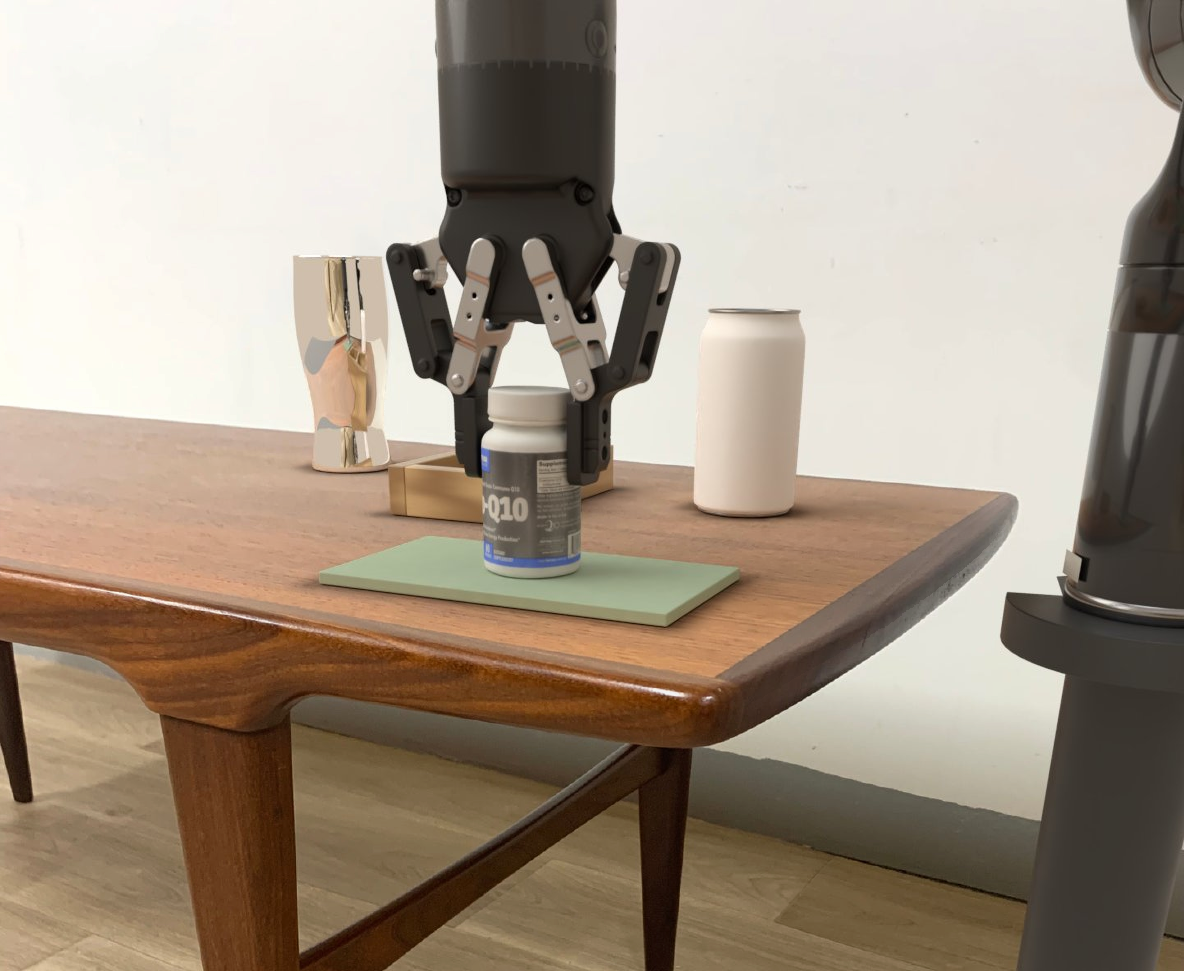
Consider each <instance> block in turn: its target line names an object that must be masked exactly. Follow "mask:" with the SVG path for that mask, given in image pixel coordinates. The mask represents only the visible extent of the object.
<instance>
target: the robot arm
mask: <svg viewBox="0 0 1184 971" xmlns="http://www.w3.org/2000/svg"><path fill="white" fill-rule="evenodd" d="M1125 5H1126V12H1127V20H1128V26H1129V33H1130V39H1131V43H1132V48H1133V53H1134V57H1135V60H1136V63H1137V65H1138V67H1139V69H1140V72H1141V75H1142V76H1143V79H1144V81H1145V83H1146V84H1147V85H1148V87H1149V88H1150V89H1151V91H1152V92H1153V94H1154V95H1155V97H1156V98H1157V99H1158V100H1159V101H1160V102H1161V103H1163V104H1164V105H1165V106H1166V107H1167V108H1169V109H1170V110H1172V111H1174V112H1176V113H1177V114H1179V115H1178V119H1177V124H1176V129H1175V132H1174V137H1173V140H1172V144H1171V147H1170V151H1169V153H1168V155H1167V157H1166V159H1165V162H1164V164H1163V166H1162V168H1161V169H1160V172H1159V173H1158V175H1157V177H1156V179H1155V180H1154V182H1153V183H1152V184H1151V186H1150V187H1149V188H1148V190H1147V191H1146V192H1145V193H1144V194H1143V195H1142V197H1141V198H1139V200H1138V201H1137V202H1136V203H1135V204H1134V205H1133V207H1132V208H1131V210H1130V211H1129V213H1128V215H1127V218H1126V221H1125V225H1124V230H1123V235H1122V239H1121V248H1120V253H1119V254H1120V255H1119V259H1118V266H1119V267H1117V271H1116V278H1115V284H1114V290H1113V291H1114V292H1113V295H1112V301H1111V302H1112V303H1111V308H1110V315H1109V322H1108V328H1107V329H1108V330H1107V334H1106V340H1105V344H1104V353H1103V358H1102V364H1101V371H1100V375H1099V376H1100V377H1099V383H1098V388H1097V389H1098V390H1097V396H1096V402H1095V408H1094V414H1093V421H1092V426H1091V432H1090V439H1089V445H1088V451H1087V458H1086V464H1085V470H1084V477H1083V482H1082V487H1081V488H1082V489H1081V493H1080V494H1081V496H1080V501H1079V508H1078V513H1077V518H1076V525H1075V532H1074V539H1073V544H1072V551H1070V550H1069V549H1068V548H1066V550H1065V555H1064V560H1063V561H1064V562H1063V567H1062V574H1064V576H1068V578H1067V579H1066V582H1065V588H1064V594H1063V595H1062V596H1063V600H1064V601H1065V603H1067V604H1068V605H1069V606H1071V607H1073V608H1075V609H1077V610H1079V611H1082V612H1085V613H1087V614H1090V615H1094V616H1097V617H1101V618H1105V619H1110V620H1114V621H1119V622H1125V623H1131V624H1138V625H1145V626H1155V627H1166V628H1184V0H1125ZM434 17H435V18H434V20H435V42H434V51H435V52H434V53H435V57H436V69H437V70H436V72H437V74H436V75H437V77H436V78H437V100H438V125H439V126H438V127H439V154H440V155H439V158H440V177H441V181H442V184H443V187H444V192H445V196H446V206H445V207H446V208H445V211H444V215H443V218H442V220H441V223H440V225H439V229H438V234H436V235H434V236H430V237H427V238H424V239H421V240H419V241H416V242H394V243H392V244H390V245H389V246H388V248H387V249H386V251H385V261H386V265H387V270H388V273H389V277H390V281H391V285H392V289H393V292H394V293H393V294H394V297H395V301H396V305H397V309H398V313H399V316H400V321H401V324H402V330H403V333H404V337H405V341H406V344H407V349H408V352H409V357H410V361H411V365H412V369H413V371H414V373H415V375H416V376H417V377H418V378H419V379H423V380H428V379H430V380H432V381H434V382H437V383H438V384H440V385H442V386H444V387H446V388H447V389H448V390H449V391H450V394H451V395H452V400H453V421H454V424H453V425H454V440H455V441H454V449H455V453H456V456H457V459H458V461H459V464H464V469H465V474H466V476H467V477H472V478H482V456H481V444H482V438H483V436H484V434H485V433H486V432H487V431H489V430H490V429H492V428H493V424H494V422H492V421H490V420H489V419H488V418H489V414H488V390H489V388H492V387H493V385H494V382H495V378H496V376H497V371H498V369H499V365H500V361H501V357H502V354H503V350H504V348H505V347H506V346H507V345H508V343H509V342H510V340H511V338H512V335H513V331H514V327H515V324H517V323H526V322H528V323H531V324H534V325H545V328H546V332H547V336H548V339H549V343H550V344H551V347H552V348H553V349H554V351H556V352H557V354H558V356H559V358H560V362H561V365H562V369H563V371H564V374H565V375H564V376H565V378H566V382H567V385H568V389H570V392H571V394H572V396H573V397H574V401H571V402H567V481H568V483H569V485H575V486H587V485H590V484H593V483H596V482H597V481H598V479H599V476H600V472H601V471H604V470H607V467H608V464H609V462H610V459H611V447H610V445H612V438H611V436H612V404H613V400H614V398H615V397H616V395H617V394H618V393H619V392H621V391H624V390H626V389H629V388H632V387H635V386H638V385H641V384H645V383H647V382H648V381H649V380H650V379H651V377H652V375H653V372H654V368H655V364H656V360H657V356H658V352H659V348H660V345H661V340H662V336H663V333H664V330H665V325H666V321H667V317H668V313H669V308H670V305H671V301H672V298H673V293H674V289H675V286H676V282H677V277H678V275H679V274H678V273H679V270H680V265H681V261H682V254H681V250H680V249H679V247H678V246H677V245H676V244H674V243H671V242H660V241H659V242H658V241H648V240H644V239H640V238H636V237H634V236H630V235H627V234H624V233H623V229H622V227H621V223H620V222H619V220H618V217H617V215H616V212H615V209H614V204H613V194H614V189H615V188H614V187H615V180H616V112H617V110H616V109H617V108H616V107H617V41H618V40H617V38H618V37H617V35H618V31H617V30H618V27H617V26H618V23H617V22H618V7H617V0H434ZM614 263H616V264H617V268H618V274H617V281H618V284H619V286H620V288H621V289H622V290H623V291H624V295H623V300H622V304H621V307H620V312H619V316H618V320H617V325H616V329H615V332H614V333H615V334H614V337H613V342H612V346H611V350H610V355H609V353H608V350H607V349H608V348H607V345H606V340H607V329H606V326H605V323H604V319H603V315H602V312H601V308H600V304H599V301H598V298H597V295H596V291H597V290H598V288H599V286H600V285H601V284H602V282H603V280H604V278H605V277H606V275H607V274H608V272H609V271H610V269H611V267H612V266H613V264H614ZM448 266H450V268H451V270H452V272H453V273H454V275H455V276H456V278H457V280H458V281H459V284H460V285H461V286H462V288H463V289H462V292H461V297H460V301H459V305H458V309H457V313H456V316H455V320H454V324H453V321H452V318H451V314H450V309H449V305H448V301H447V297H446V292H445V288H444V286H445V285H446V283H447V280H448V279H449V273H448V271H447V267H448Z"/></svg>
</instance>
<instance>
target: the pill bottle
mask: <svg viewBox="0 0 1184 971" xmlns="http://www.w3.org/2000/svg"><path fill="white" fill-rule="evenodd" d="M571 401H574V397H573V396H572V394H571V392H570V389H569V388H566V387H559V386H547V385H499V386H492V387H491V388H489V390H488V414H489V418H488V419H489V420H490V421H492V422H494V424H493V428H492V429H490V430H489V431H487V432H486V433H485V434H484V436H483V438H482V444H481V456H482V485H483V523H482V525H483V528H482V529H483V530H482V531H483V533H482V535H483V538H482V539H483V541H484V563H485V567H486V568H487V569H488V570H489V571H491V572H493V573H496V574H499V575H502V576H507V577H513V578H526V579H537V578H549V577H556V576H562V575H567V574H570V573H573V572H575V571H576V570H577V569H578V568H579V566H580V557H581V551H582V549H581V548H582V545H581V544H582V538H581V537H582V500H581V486H575V485H569V483H568V481H567V402H571Z"/></svg>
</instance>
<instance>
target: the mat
mask: <svg viewBox="0 0 1184 971" xmlns="http://www.w3.org/2000/svg"><path fill="white" fill-rule="evenodd" d="M740 573H741V568H740V567H738V566H728V565H720V564H719V565H717V564H708V563H699V562H691V561H690V562H688V561H679V560H669V559H660V558H652V557H640V556H630V555H621V554H613V553H611V554H610V553H602V552H591V551H582V550H581V557H580V566H579V568H578V569H577V570H576V571H575V572H573V573H570V574H567V575H562V576H556V577H549V578H537V579H526V578H513V577H507V576H502V575H499V574H496V573H493V572H491V571H489V570H488V569H487V568H486V567H485V563H484V540H477V539H476V540H475V539H468V538H467V539H465V538H458V537H457V538H455V537H446V536H437V535H425V536H422V537H419V538H417V539H414V540H413V539H412V540H410V541H408V542H405V543H401V544H399V545H396V546H393V547H390V548H386V549H383V550H380V551H378V552H374V553H371V554H368V555H365V556H362V557H360V558H359V557H358V558H356V559H353V560H351V561H350V560H349V561H348V562H345V563H342V564H338V565H335V566H332V567H328V568H326V569H322V570H320V571H319V572H318V580H319V581H318V582H319V584H320V585H328V586H335V587H344V588H352V589H353V588H354V589H360V590H361V589H362V590H369V591H377V592H384V593H393V594H401V595H409V596H416V597H424V598H433V599H441V600H448V601H457V602H463V603H464V602H465V603H472V604H480V605H489V606H497V607H505V608H511V609H512V608H513V609H521V610H529V611H536V612H537V611H538V612H545V613H552V614H553V613H554V614H561V615H567V616H577V617H584V618H585V617H586V618H591V619H592V618H593V619H599V620H608V621H609V620H610V621H617V622H624V623H633V624H640V625H641V624H642V625H649V626H657V627H665V628H666V627H668V626H669V625H671V624H673V623H675V621H677V620H679V619H680V618H682V617H684V616H685V615H686V614H688V613H690V612H691V611H693V610H694V609H696V608H697V607H699V606H700V605H702V604H704V603H705V602H706V601H708V600H710V599H711V598H713V597H714V596H715V595H718V593H720V592H722V591H724V590H725V589H726V588H727V587H729V586H732V584H734V583H736V582H737V581H739V579H740Z"/></svg>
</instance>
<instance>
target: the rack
mask: <svg viewBox="0 0 1184 971" xmlns="http://www.w3.org/2000/svg"><path fill="white" fill-rule="evenodd" d="M610 447H611V459H610V462H609V464H608V467H607V470H604V471H601V472H600V476H599V479H598V481H597V482H596V483H593V484H590V485H587V486H581V501H582V500H585V499H588V498H589V497H593V496H596V495H598V494H601V493H604V492H606V491H609V490H612V489H613V488H614V444H611V445H610ZM387 475H388V492H389V493H388V494H389V509H390V510H389V511H390V512H389V513H390V514H391V515H393V516H394V515H396V516H405V517H406V516H408V517H417V518H427V519H437V520H445V521H446V520H447V521H456V522H458V521H459V522H467V523H477V524H483V485H482V478H472V477H467V476H466V474H465V469H464V464H459V461H458V459H457V456H456V453H455V450H450V451H446V452H441V453H436V454H432V455H428V456H423V457H419V458H414V459H410V460H406V461H402V462H397V463H392V465H389V466H388V469H387Z"/></svg>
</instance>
